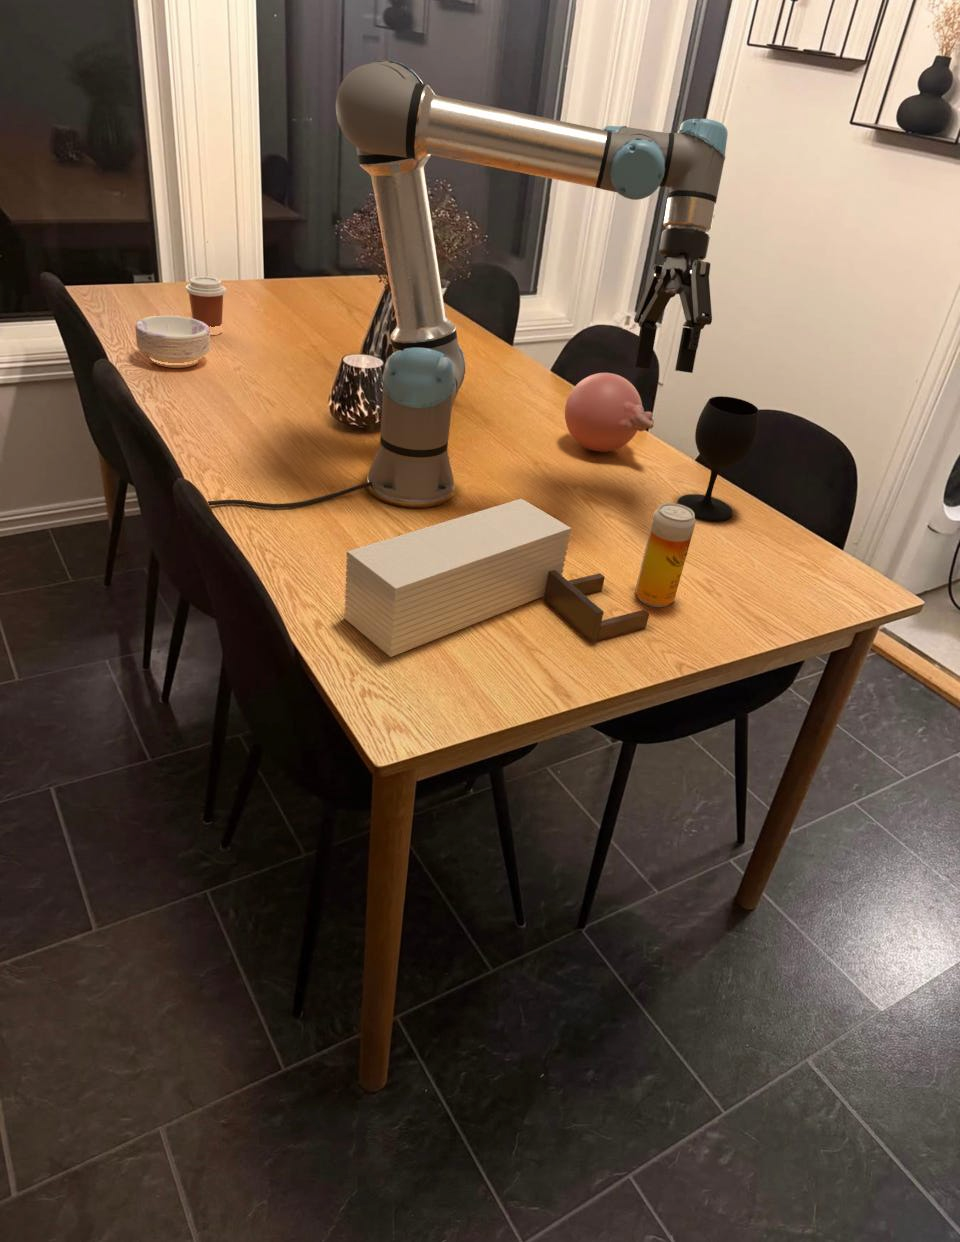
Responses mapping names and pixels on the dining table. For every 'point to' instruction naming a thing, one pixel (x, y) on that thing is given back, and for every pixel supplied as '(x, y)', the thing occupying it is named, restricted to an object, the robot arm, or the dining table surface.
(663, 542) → the beer can
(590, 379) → the balloon
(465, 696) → the dining table surface
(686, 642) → the dining table surface
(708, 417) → the wine glass
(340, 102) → the robot arm
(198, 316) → the coffee cup
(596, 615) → the brown wooden u-shaped frame
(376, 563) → the stack of papers
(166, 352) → the paper bowls
